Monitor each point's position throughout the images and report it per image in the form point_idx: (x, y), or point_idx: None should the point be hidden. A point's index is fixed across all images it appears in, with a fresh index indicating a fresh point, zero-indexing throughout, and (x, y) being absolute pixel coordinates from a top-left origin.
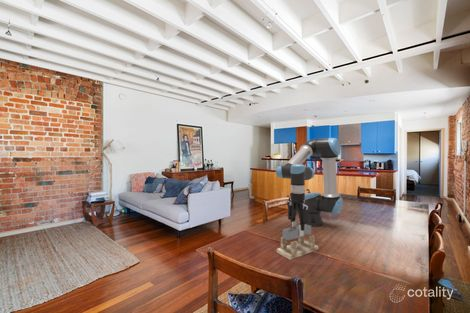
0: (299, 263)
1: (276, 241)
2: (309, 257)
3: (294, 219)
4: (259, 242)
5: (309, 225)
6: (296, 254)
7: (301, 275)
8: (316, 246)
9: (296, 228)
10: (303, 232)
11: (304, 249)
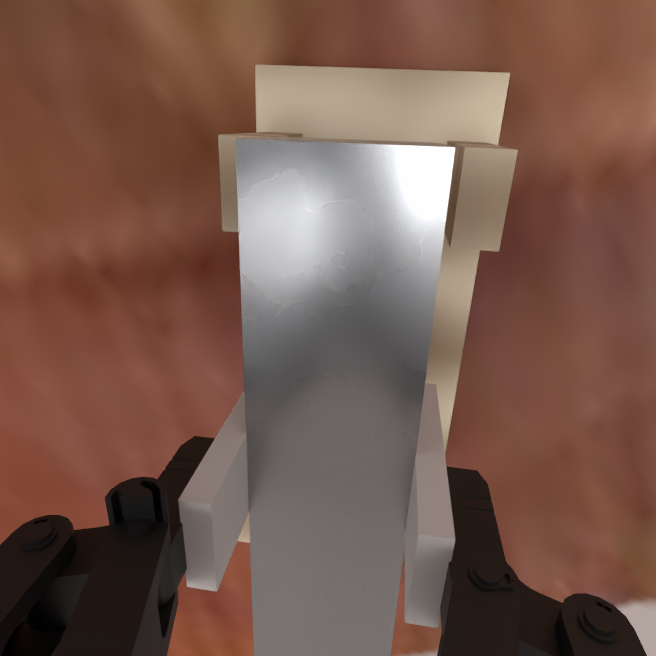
0: (518, 476)
1: (72, 290)
2: (524, 329)
3: (160, 556)
4: (32, 423)
5: (400, 161)
6: (445, 442)
7: (624, 588)
8: (500, 112)
9: (351, 536)
10: (438, 414)
11: (443, 313)
